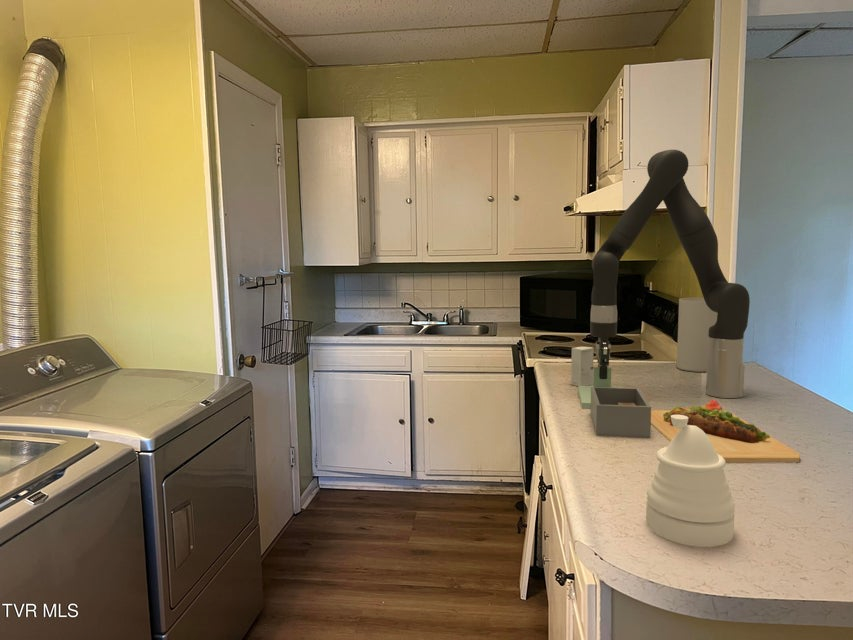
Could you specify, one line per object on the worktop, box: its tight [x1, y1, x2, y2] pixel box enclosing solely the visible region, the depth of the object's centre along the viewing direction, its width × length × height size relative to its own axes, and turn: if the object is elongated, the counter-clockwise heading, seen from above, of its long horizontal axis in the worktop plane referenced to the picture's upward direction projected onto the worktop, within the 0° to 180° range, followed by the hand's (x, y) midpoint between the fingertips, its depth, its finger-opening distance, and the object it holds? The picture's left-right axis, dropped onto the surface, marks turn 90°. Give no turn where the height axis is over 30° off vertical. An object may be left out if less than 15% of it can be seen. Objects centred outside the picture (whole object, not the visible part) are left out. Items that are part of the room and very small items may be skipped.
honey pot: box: [645, 415, 736, 548], centre depth 93 cm, size 13×13×18 cm
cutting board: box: [651, 398, 801, 464], centre depth 138 cm, size 35×23×8 cm
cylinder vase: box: [676, 297, 717, 373], centre depth 208 cm, size 12×12×25 cm
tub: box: [589, 386, 652, 439], centre depth 144 cm, size 12×18×8 cm, turn 169°
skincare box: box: [570, 346, 595, 387], centre depth 189 cm, size 6×4×12 cm
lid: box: [577, 366, 627, 410], centre depth 167 cm, size 14×20×8 cm
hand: (602, 377), depth 175 cm, fingers open, 3 cm apart
